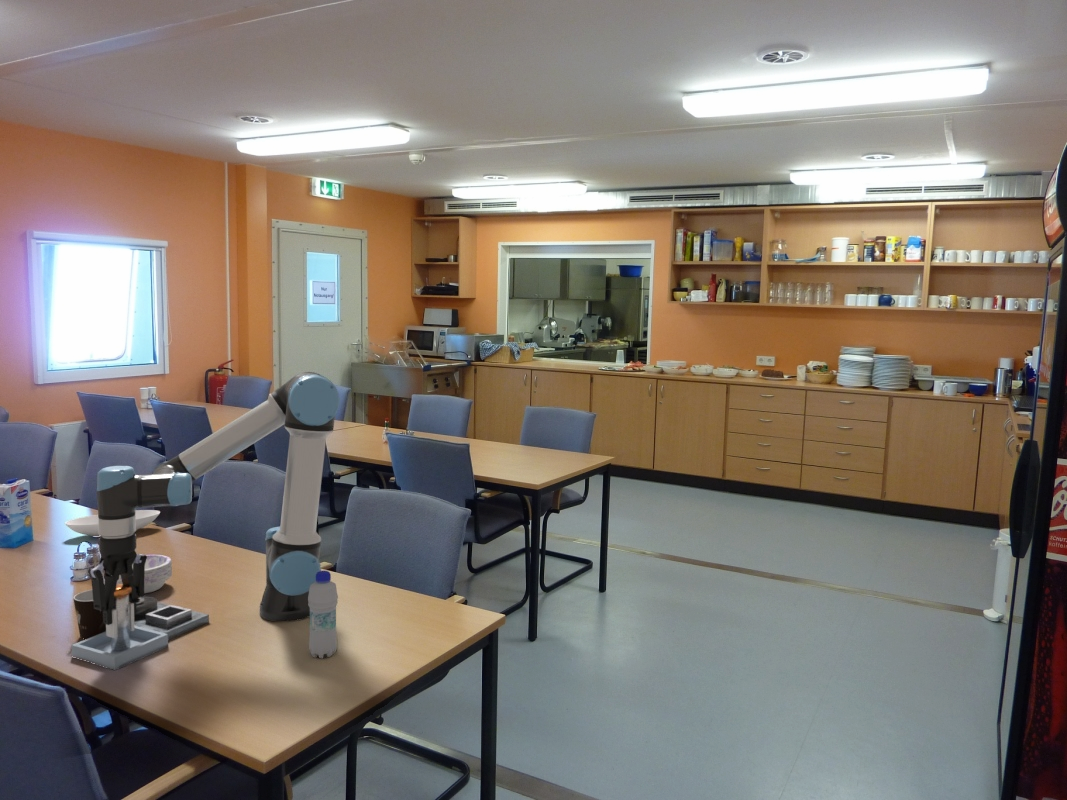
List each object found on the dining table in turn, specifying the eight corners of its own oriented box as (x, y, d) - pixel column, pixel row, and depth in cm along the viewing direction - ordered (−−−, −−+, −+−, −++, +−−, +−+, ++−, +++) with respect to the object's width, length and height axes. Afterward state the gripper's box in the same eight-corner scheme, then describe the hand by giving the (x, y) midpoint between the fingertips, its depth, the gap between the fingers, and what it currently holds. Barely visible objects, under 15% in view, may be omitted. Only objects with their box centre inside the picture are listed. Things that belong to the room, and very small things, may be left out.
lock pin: (138, 644, 177) (136, 586, 176) (118, 653, 173) (116, 593, 171) (123, 640, 180) (121, 582, 178) (102, 649, 175) (100, 589, 173)
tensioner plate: (209, 622, 195) (208, 602, 194) (162, 642, 182) (162, 621, 181) (147, 607, 203) (147, 588, 203) (99, 625, 191) (99, 605, 190)
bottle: (326, 645, 182) (326, 564, 180) (343, 653, 178) (343, 571, 176) (302, 654, 177) (301, 571, 175) (319, 663, 173) (319, 578, 171)
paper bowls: (99, 595, 211) (98, 567, 210) (139, 577, 226) (139, 551, 225) (146, 601, 208) (145, 573, 207) (184, 583, 222) (183, 556, 222)
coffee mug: (78, 629, 188) (77, 590, 187) (118, 625, 191) (116, 587, 190) (68, 648, 177) (67, 607, 176) (110, 644, 180) (109, 603, 179)
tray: (168, 646, 180) (167, 634, 179) (114, 670, 167) (114, 657, 167) (126, 635, 185) (126, 623, 185) (71, 657, 173) (71, 644, 172)
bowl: (155, 523, 285) (154, 507, 285) (165, 532, 274) (165, 515, 273) (62, 535, 266) (61, 518, 266) (69, 546, 255) (68, 528, 254)
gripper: (138, 523, 183) (140, 617, 185) (71, 541, 167) (75, 643, 170) (160, 527, 180) (163, 623, 182) (94, 546, 164) (98, 650, 167)
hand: (120, 632), depth 176 cm, fingers closed on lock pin, 4 cm apart
